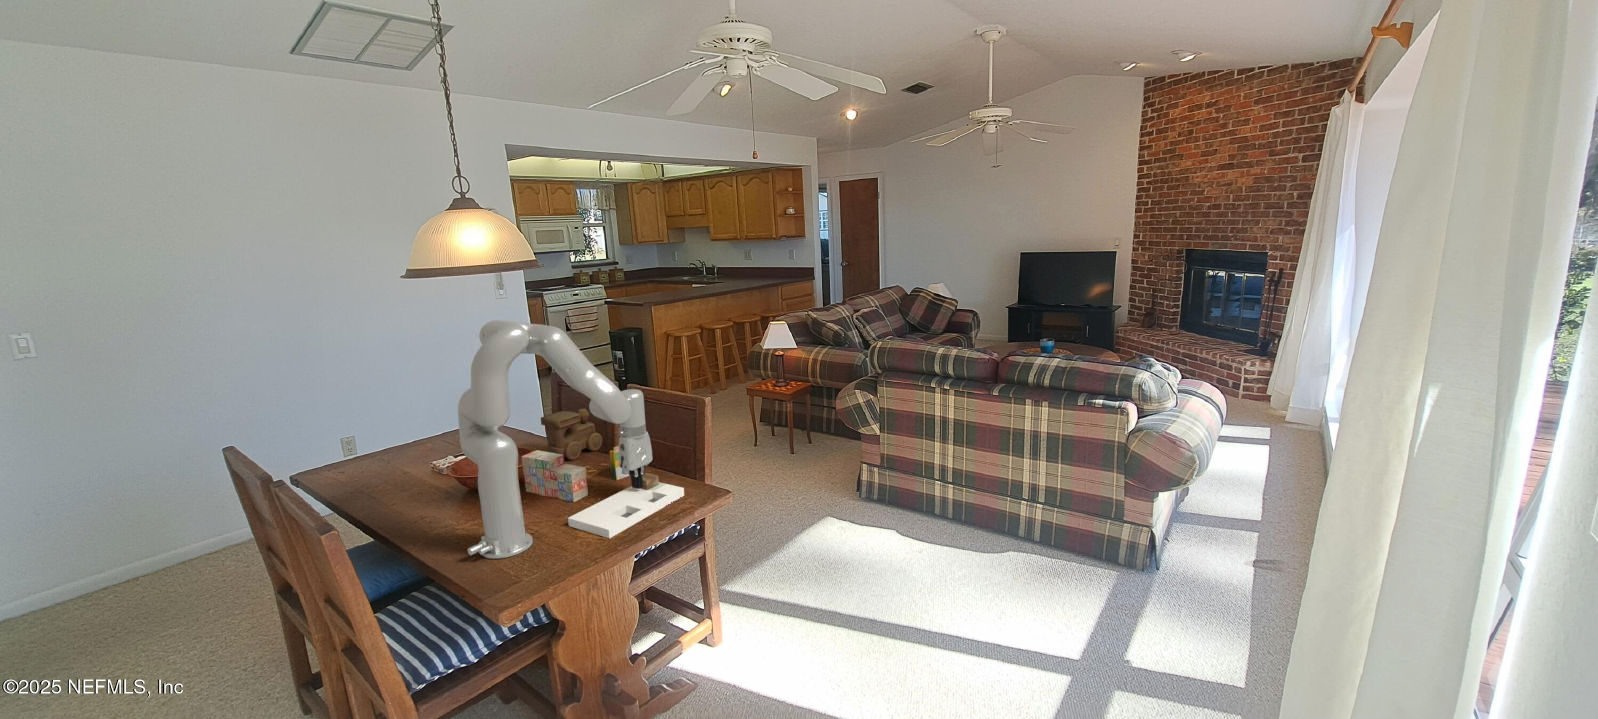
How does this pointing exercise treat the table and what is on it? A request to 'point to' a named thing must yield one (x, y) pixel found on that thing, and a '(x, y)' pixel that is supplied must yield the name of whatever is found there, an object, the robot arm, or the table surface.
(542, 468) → the stack of blocks
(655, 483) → the walnut block
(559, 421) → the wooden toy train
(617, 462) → the crayon box
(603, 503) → the trap board
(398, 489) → the table surface
